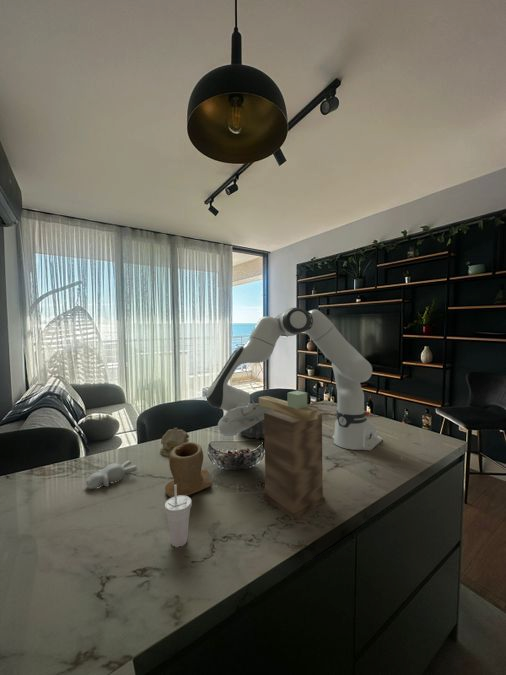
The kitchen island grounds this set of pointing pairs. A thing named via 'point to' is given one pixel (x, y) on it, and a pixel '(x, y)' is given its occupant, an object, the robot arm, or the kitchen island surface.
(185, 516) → the smoothie
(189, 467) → the stone cup
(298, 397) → the sage cube
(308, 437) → the walnut block
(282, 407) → the oak slat
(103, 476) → the bunny figurine
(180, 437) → the ceramic model
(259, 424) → the bundt pan
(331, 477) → the kitchen island surface
